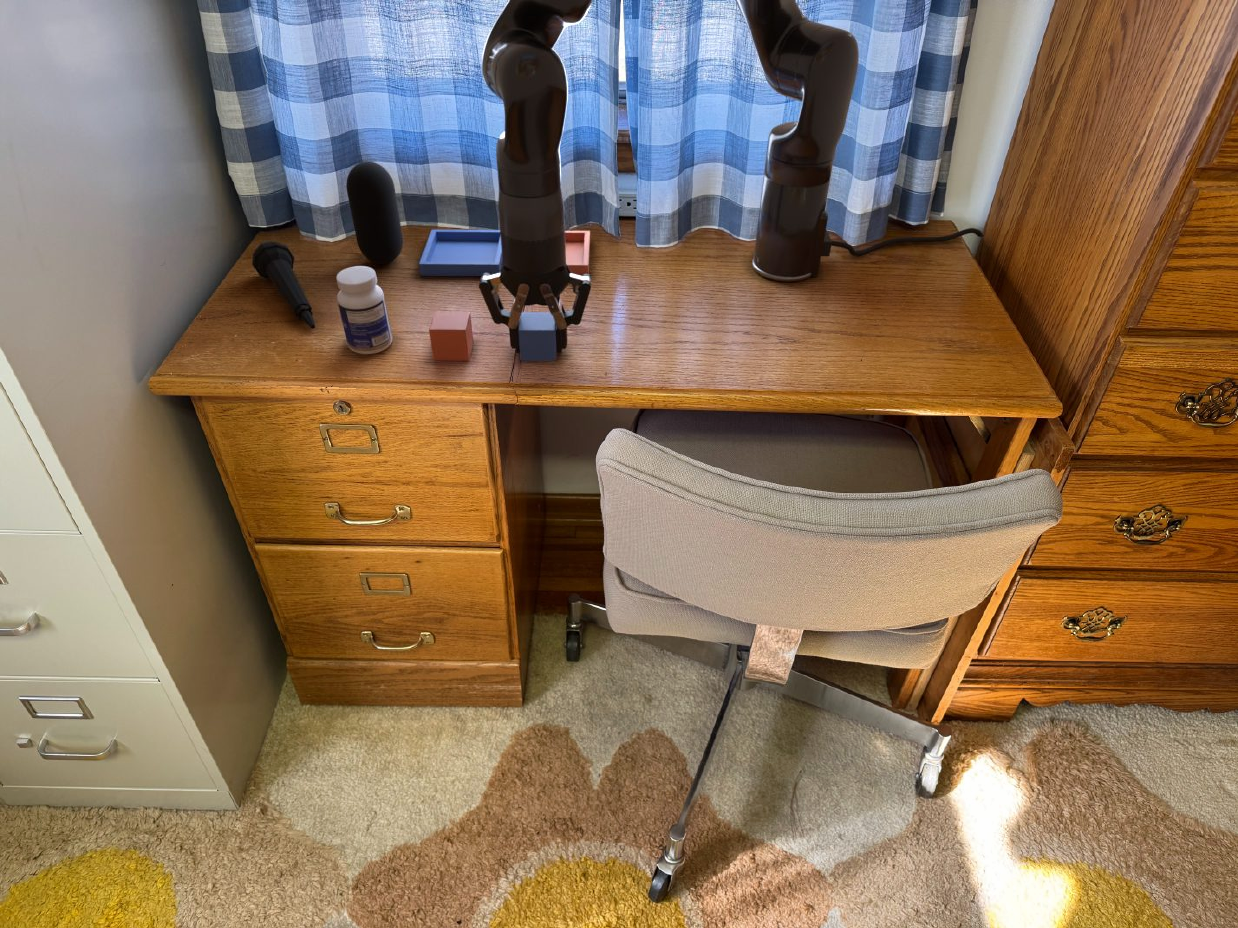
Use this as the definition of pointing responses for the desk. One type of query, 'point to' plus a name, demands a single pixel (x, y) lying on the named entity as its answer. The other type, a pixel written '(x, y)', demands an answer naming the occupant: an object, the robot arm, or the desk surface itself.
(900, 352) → the desk surface
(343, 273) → the pill bottle
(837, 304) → the desk surface
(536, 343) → the blue cube
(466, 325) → the terracotta cube
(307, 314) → the microphone
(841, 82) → the robot arm
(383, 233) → the decorative object
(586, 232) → the terracotta tray
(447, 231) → the blue tray
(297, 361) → the desk surface
